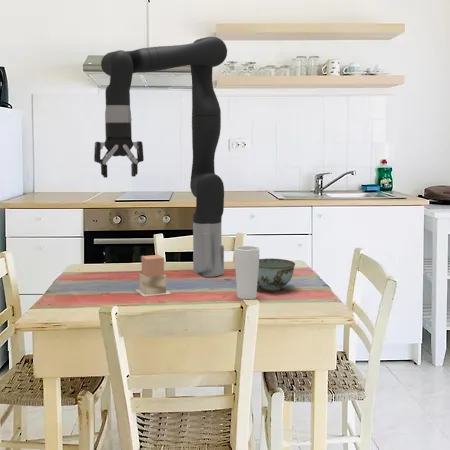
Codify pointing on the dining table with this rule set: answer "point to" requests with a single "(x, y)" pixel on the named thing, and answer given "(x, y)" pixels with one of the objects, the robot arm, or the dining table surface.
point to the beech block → (152, 284)
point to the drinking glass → (247, 271)
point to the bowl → (274, 273)
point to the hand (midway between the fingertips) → (119, 176)
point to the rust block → (152, 265)
